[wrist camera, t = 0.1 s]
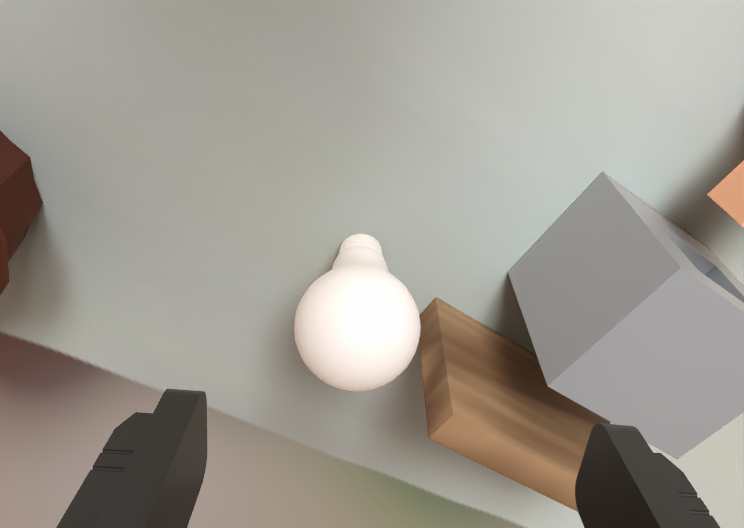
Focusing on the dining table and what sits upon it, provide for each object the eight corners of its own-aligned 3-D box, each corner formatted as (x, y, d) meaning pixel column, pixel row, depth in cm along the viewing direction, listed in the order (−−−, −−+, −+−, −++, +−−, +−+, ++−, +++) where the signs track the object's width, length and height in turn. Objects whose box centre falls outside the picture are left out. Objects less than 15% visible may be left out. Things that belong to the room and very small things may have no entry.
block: (602, 171, 33) (680, 267, 25) (710, 250, 36) (814, 361, 27) (507, 271, 37) (547, 386, 28) (612, 336, 39) (677, 459, 31)
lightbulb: (432, 251, 36) (452, 377, 27) (354, 303, 38) (347, 437, 29) (368, 178, 33) (364, 289, 24) (288, 238, 35) (257, 362, 26)
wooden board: (435, 297, 38) (453, 415, 29) (595, 389, 42) (651, 516, 33) (417, 318, 39) (428, 438, 30) (575, 407, 43) (624, 534, 34)
